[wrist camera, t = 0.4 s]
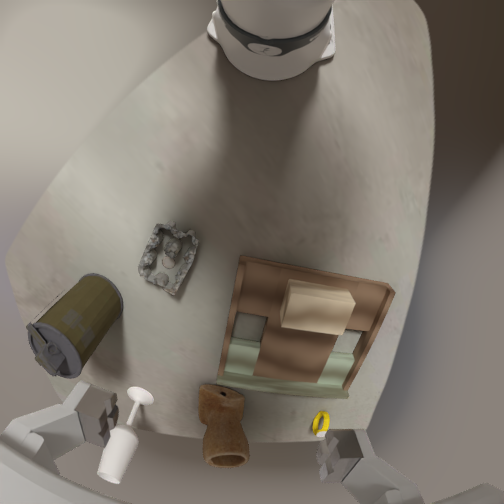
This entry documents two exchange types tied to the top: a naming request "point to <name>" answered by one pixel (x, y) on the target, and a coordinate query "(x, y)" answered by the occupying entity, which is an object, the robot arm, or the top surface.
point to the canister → (75, 326)
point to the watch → (325, 424)
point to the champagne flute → (122, 441)
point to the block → (316, 307)
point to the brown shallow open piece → (296, 333)
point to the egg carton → (167, 257)
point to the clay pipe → (223, 426)
